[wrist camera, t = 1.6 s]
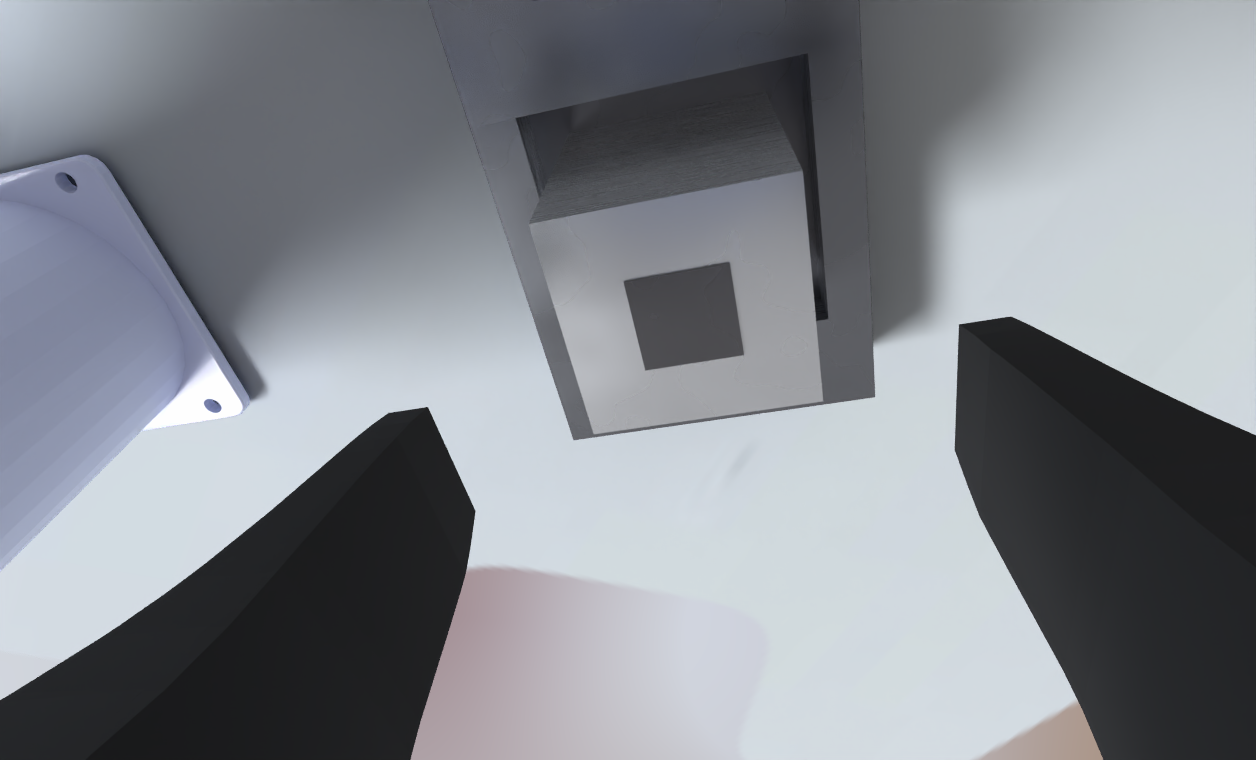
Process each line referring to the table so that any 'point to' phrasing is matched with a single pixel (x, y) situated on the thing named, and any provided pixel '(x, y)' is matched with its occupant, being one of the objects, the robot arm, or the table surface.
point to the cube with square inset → (682, 265)
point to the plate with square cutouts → (661, 82)
